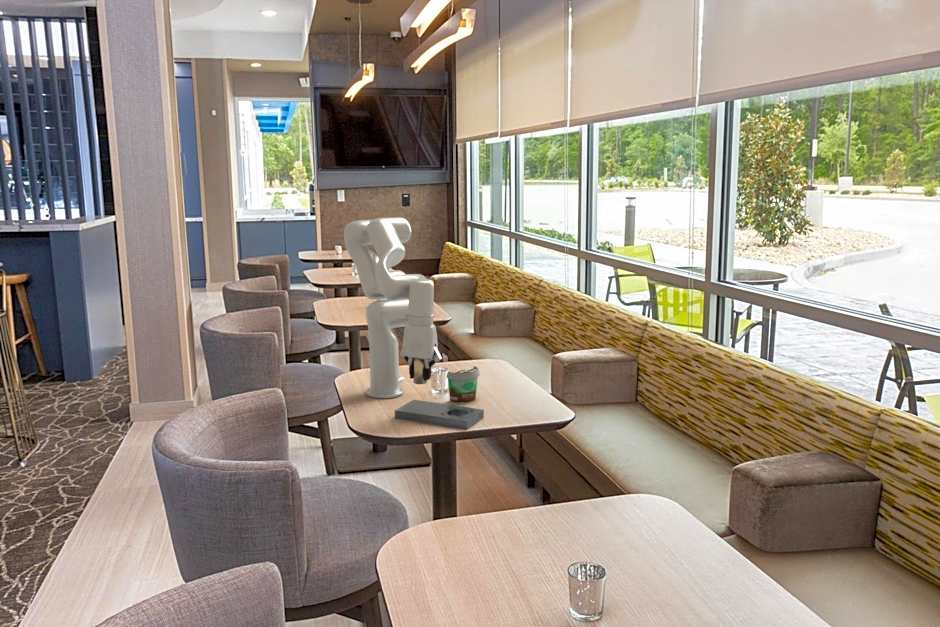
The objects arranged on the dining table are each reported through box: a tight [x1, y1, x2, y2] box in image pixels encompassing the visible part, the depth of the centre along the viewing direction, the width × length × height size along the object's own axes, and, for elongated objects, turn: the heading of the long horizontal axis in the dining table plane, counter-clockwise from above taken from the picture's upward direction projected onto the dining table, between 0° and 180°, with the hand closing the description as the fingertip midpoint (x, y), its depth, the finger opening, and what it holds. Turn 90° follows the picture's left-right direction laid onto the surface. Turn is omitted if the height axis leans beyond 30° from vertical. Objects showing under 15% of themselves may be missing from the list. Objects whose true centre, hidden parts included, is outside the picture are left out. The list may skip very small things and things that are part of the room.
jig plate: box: [394, 399, 485, 430], centre depth 233 cm, size 12×24×2 cm, turn 65°
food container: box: [446, 365, 481, 403], centre depth 250 cm, size 12×6×10 cm, turn 131°
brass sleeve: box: [412, 358, 428, 385], centre depth 234 cm, size 4×4×8 cm
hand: (420, 378), depth 235 cm, fingers closed on brass sleeve, 4 cm apart
